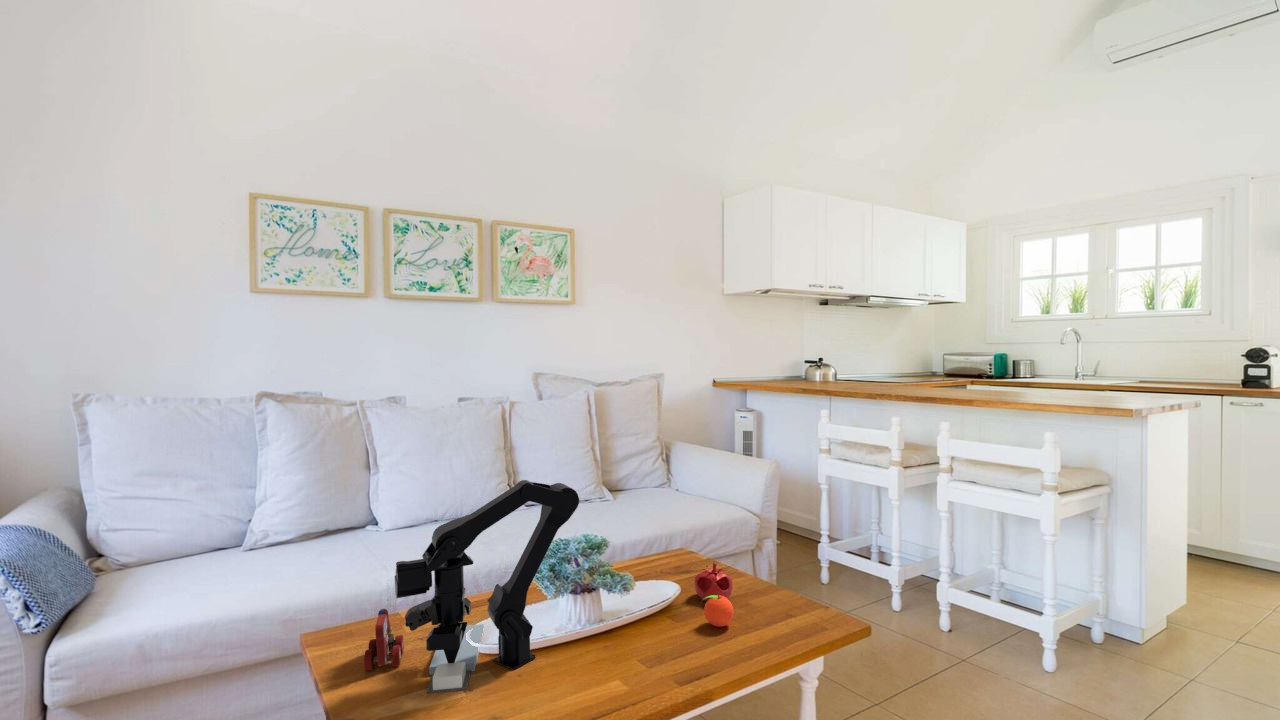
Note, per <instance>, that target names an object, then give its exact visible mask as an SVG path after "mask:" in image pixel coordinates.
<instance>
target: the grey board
mask: <svg viewBox="0 0 1280 720" xmlns="http://www.w3.org/2000/svg"><path fill="white" fill-rule="evenodd" d="M472 628H473V630H472V631H471V634H470V636H471V637H470V639H471V640H472V641H473V642H475V643H478V644H479V643H480V642H481V637H482V633H483V628H484V629H485V624H484V623H482V624H470V625H468V624H467V627H466V630H465V633H464V637H463V640H462V642H461V645H460V648H459V651H458V654H457V657H456V660H455V662H454V663H458V662H466V671H469V670H471V672H474V671H476V668H477V663H478V658H479V653H480V650H479V651H478V647H475V646H472V645H471V644H470V643H469V642H468V641H467V640H466V633H467V632H468V631H469V630H471V629H472ZM483 634H484V633H483ZM482 638H483V637H482ZM481 643H482V642H481ZM434 651H435V652H434V654H433V657H432V659H431V663H430V665H429V667H428V668H429V675H430V676H432V675H433V674H434V673H435V670H436V668H437V665H438V664H447V663H448V662H447V659H446V656H445V653H444V650H434Z"/></svg>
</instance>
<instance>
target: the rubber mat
mask: <svg viewBox="0 0 1280 720" xmlns="http://www.w3.org/2000/svg"><path fill="white" fill-rule="evenodd" d="M471 673H472V671H471V670H469V671H466V675H465V679H464V682H463V686H462V688H452V689H441V690H433V676H434V674H433V675H431V679H430V682H429V684H428V687H427V690H426V694H434V693H445V692H455V691H466V690H467V689H468V685H469V681H470V676H471Z"/></svg>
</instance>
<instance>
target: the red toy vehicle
mask: <svg viewBox="0 0 1280 720" xmlns="http://www.w3.org/2000/svg"><path fill="white" fill-rule="evenodd" d="M377 615H378V617H377V619H376V623H375V627H374V628H375V629H374V630H375V638H374V639H370V640H369V642H368V649H366V650H365V652H364V659H363V661H364V665H363V666H364V671H372V670H373V669H374V667H375V662H376V663H377V666H378V667H381V666H382V667H383V666H386V665H387V663H388V660H391V665H392V667H393V668H394V667H399V666H400V665H401V659H402V655H403V654H404V649H405V648H404V645H405V644H404V636H403V635H402V634H401V635H400V634H399V635H396V636H395V637H394V634H393V633H392V631H393V627H392V625H391V623H390V616H389V611H388V609H386V608H381V609H380V610H378V614H377ZM389 653H390V654H389Z"/></svg>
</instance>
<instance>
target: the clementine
mask: <svg viewBox="0 0 1280 720" xmlns="http://www.w3.org/2000/svg"><path fill="white" fill-rule="evenodd" d="M706 598H710V599H708V601H705V604H704V609H703V611H704V616H705V619H706V620H707V621H708V623H709V624H710V625H712V626H714V627H718V628H719V627H720V628H721V627H725V626H727V625H728V624H730V622H731V621H732V619H733V617H734V613H735V611H734V606H733V604H732V602H731V601H730V600H729V598H728V599H727V598H725V597H724V596H721V595H711V596H708V597H706ZM706 598H704V599H706ZM704 599H703V600H702V599H701V602H703V601H704Z"/></svg>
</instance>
